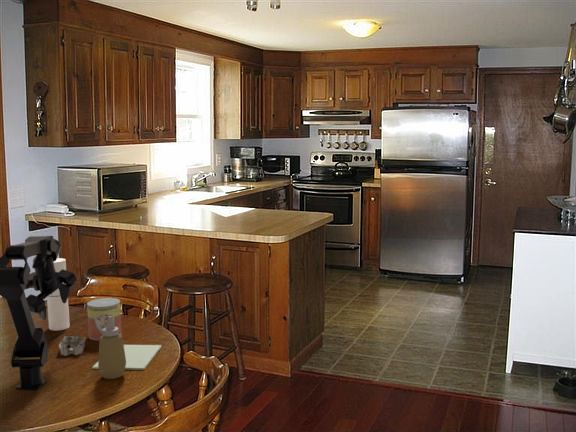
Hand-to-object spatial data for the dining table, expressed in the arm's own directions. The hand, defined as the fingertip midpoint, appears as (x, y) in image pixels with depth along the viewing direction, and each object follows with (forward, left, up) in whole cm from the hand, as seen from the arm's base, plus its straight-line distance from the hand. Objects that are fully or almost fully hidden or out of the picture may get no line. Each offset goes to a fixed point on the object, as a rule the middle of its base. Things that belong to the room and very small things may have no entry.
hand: (54, 311), depth 208 cm
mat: (-2, -24, -14) cm, 28 cm away
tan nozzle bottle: (-17, -24, -15) cm, 33 cm away
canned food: (+19, -9, -15) cm, 26 cm away
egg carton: (+5, -3, -15) cm, 16 cm away
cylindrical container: (+27, +11, -15) cm, 33 cm away
